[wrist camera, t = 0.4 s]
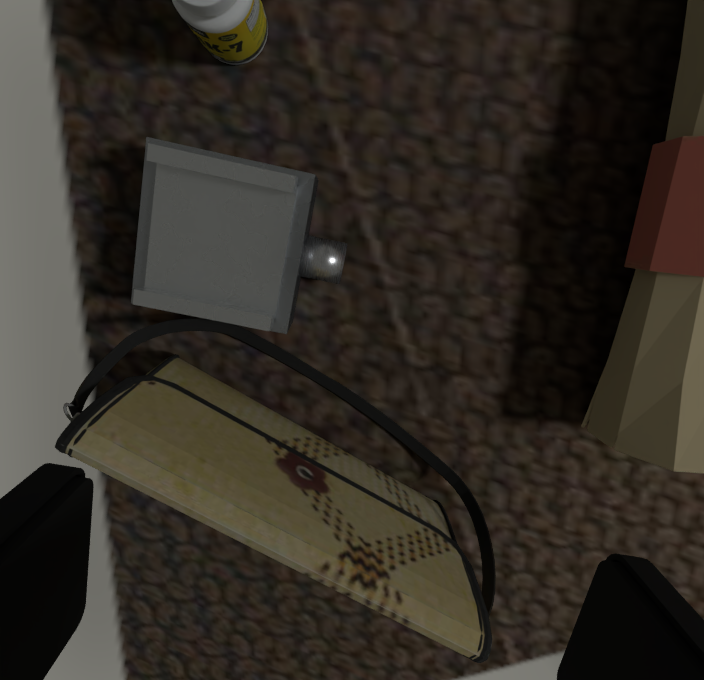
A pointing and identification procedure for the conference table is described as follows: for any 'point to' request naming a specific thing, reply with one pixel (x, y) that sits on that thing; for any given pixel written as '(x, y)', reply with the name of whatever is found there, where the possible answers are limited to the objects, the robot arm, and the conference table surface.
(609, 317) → the conference table surface
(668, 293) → the scroll
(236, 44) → the supplement bottle
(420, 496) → the beige handbag
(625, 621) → the robot arm
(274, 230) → the grey drawer with knob
